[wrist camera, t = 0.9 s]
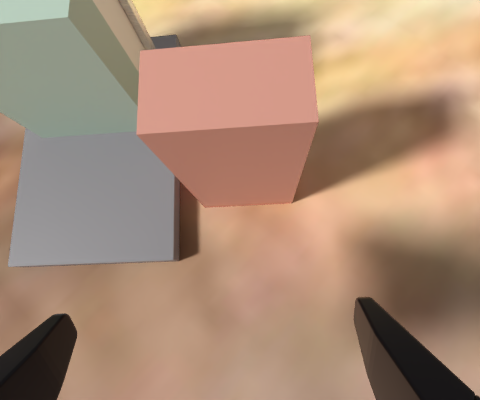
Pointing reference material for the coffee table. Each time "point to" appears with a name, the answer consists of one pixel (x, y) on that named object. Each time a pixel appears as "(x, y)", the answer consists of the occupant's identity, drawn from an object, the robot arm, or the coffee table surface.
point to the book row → (69, 66)
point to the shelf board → (95, 200)
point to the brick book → (231, 117)
